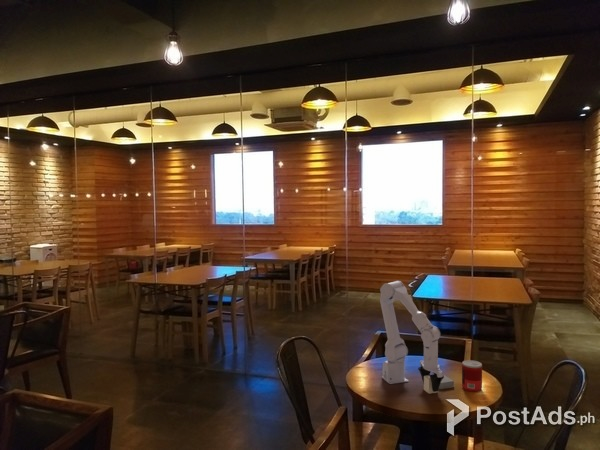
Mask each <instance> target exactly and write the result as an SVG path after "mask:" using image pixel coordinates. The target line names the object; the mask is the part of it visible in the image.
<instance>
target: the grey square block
mask: <svg viewBox="0 0 600 450" xmlns="http://www.w3.org/2000/svg"><path fill="white" fill-rule="evenodd" d="M443 376H444V378H443V379H442V381H441V383H440V386H439V389H438V390H444V389H450V388H454V387H455V382H454V380H453V379H451V378H450V377H448V376H447V375H445V374H443Z"/></svg>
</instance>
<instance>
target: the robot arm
mask: <svg viewBox="0 0 600 450" xmlns="http://www.w3.org/2000/svg"><path fill="white" fill-rule="evenodd" d="M379 291H380V297H379V303H380V309H381V312H382V318H383V322H384V327H385V332H386V337H387V339H386V340H387V341H386V342H385V344H384V347H385V351H384V356H385V359H387V360H385V361H383V362H382V372H381V374H382V376H381V378H382V379H383V380H384V381H385V382H386V383H388V384H390V385H393V384H400V383H406V382H407V383H408V382H409V379H407V378H406V375H405V372H406V371H405V370H406V369H405V367H406V363H405V360H406V357H407V356H408V353H409V349H408V347H407V346H406V343H405V340H404V339H403V338H402V337H401V335H400V331H399V325H398V321H397V318H396V312H395V306H394V302H395V301H398V302H399V301H400V303H402V305H404V307H405V308H406V310H407V311H408V312H409V313H410V315H411V320H412V322H413V323H414V325H415V326H416V327H417V329H418V331H419V332H420V333H421V334H420V339H421V340H422V342H423V343H422V345H423V359H422V360H419V367H418V368H417V370H418V371H419V373H420V376H421V379H422V380H421V381H422V384H423V385H424V376H427V375H429V376H430V379H431V382H432V390H433V392H436V391H437V392H439V390H440V389H439V386H440V383H441V381H442V379H443V378H444V376H443V375H444V374H443V373H444V372H443V371H442V370H441V369H440V368H441V366H440V364H439V362H438V361H439V360H438V359H439V358H438V357H439V354H438V353H439V339H440V338H441V331H440V329H439V327H437V326H435V325H434V324H432V323H431V321H430V320H429V319H428V317H427V314H426V313H424V312H423V311H421V310H419V309H418V308H417V306H416V304H415V303H414V300H413V299H412V298H411V296H410V294H409V292H408V290H407V287H406V286H405V284H404V283H403V282H402V281H401V280H395V281H391V282H388V283H387V282H386V283H383V285H381V287H380V288H379ZM431 373H432V374H431Z"/></svg>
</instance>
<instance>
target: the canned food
mask: <svg viewBox="0 0 600 450" xmlns="http://www.w3.org/2000/svg"><path fill="white" fill-rule="evenodd" d="M461 387H462V389H463V390H464V391H467V392H471V393H479V392H481V391H482V389H483V364H482V362H480V361H477V360H472V359H471V360H470V359H468V360H463V361H462V363H461Z"/></svg>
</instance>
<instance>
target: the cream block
mask: <svg viewBox="0 0 600 450" xmlns="http://www.w3.org/2000/svg"><path fill="white" fill-rule="evenodd" d="M423 390H424V391H425V392H426V393H427V394H436V393H438V391H436V392H433V390H432V382H431V379H430V376H429V375H427V376H424V384H423Z"/></svg>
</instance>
